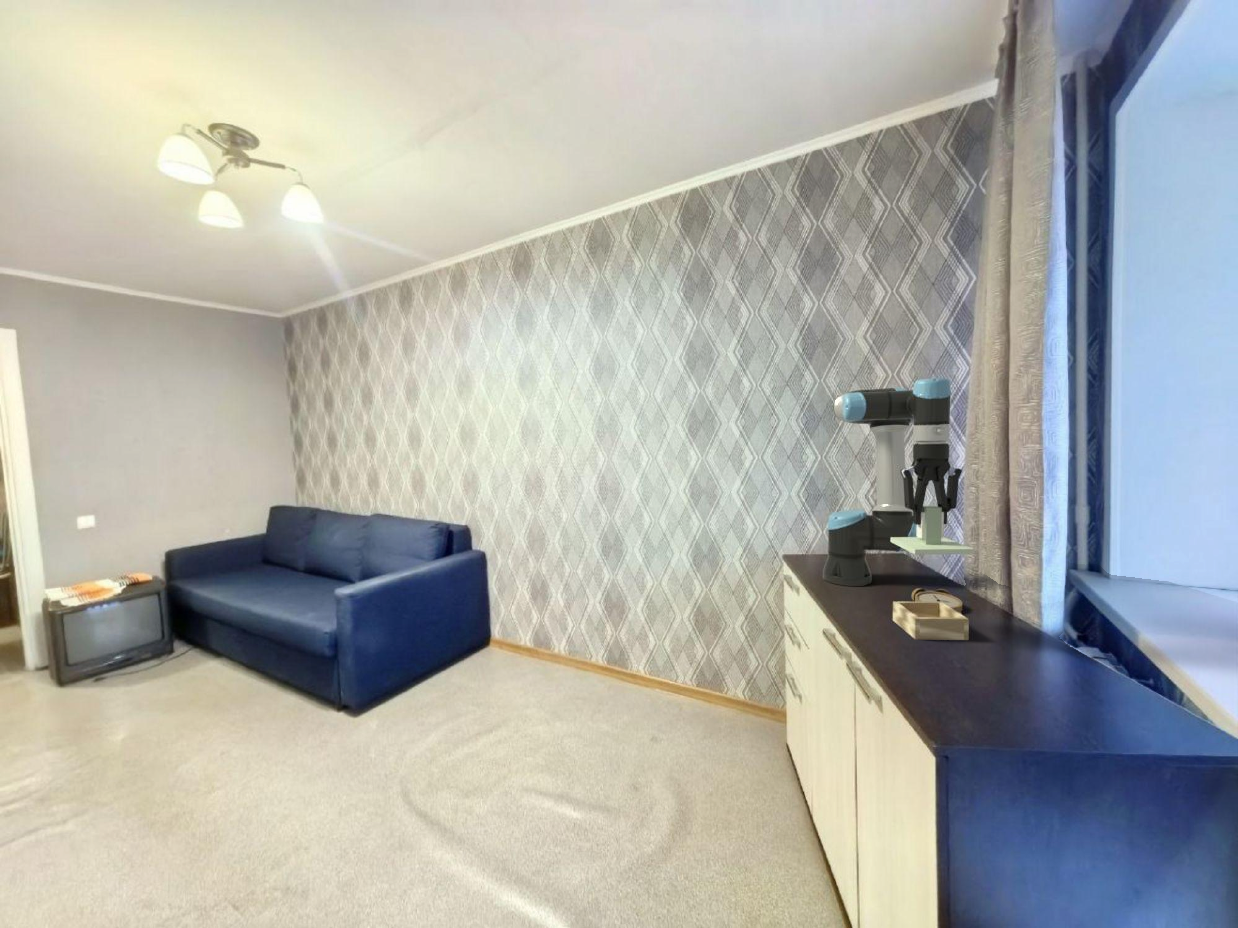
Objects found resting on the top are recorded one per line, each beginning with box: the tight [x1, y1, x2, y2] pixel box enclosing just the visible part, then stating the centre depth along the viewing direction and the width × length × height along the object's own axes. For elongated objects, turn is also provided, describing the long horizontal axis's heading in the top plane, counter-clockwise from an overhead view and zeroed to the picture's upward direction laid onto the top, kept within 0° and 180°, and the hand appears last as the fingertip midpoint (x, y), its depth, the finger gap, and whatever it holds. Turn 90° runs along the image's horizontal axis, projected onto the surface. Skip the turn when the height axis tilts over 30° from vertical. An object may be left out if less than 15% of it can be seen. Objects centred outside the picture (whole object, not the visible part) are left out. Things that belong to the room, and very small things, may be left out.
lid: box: [891, 505, 975, 556], centre depth 123 cm, size 13×13×10 cm
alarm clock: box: [911, 587, 963, 615], centre depth 141 cm, size 11×5×15 cm
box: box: [892, 601, 970, 641], centre depth 125 cm, size 12×12×6 cm
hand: (929, 537), depth 123 cm, fingers closed on lid, 3 cm apart
